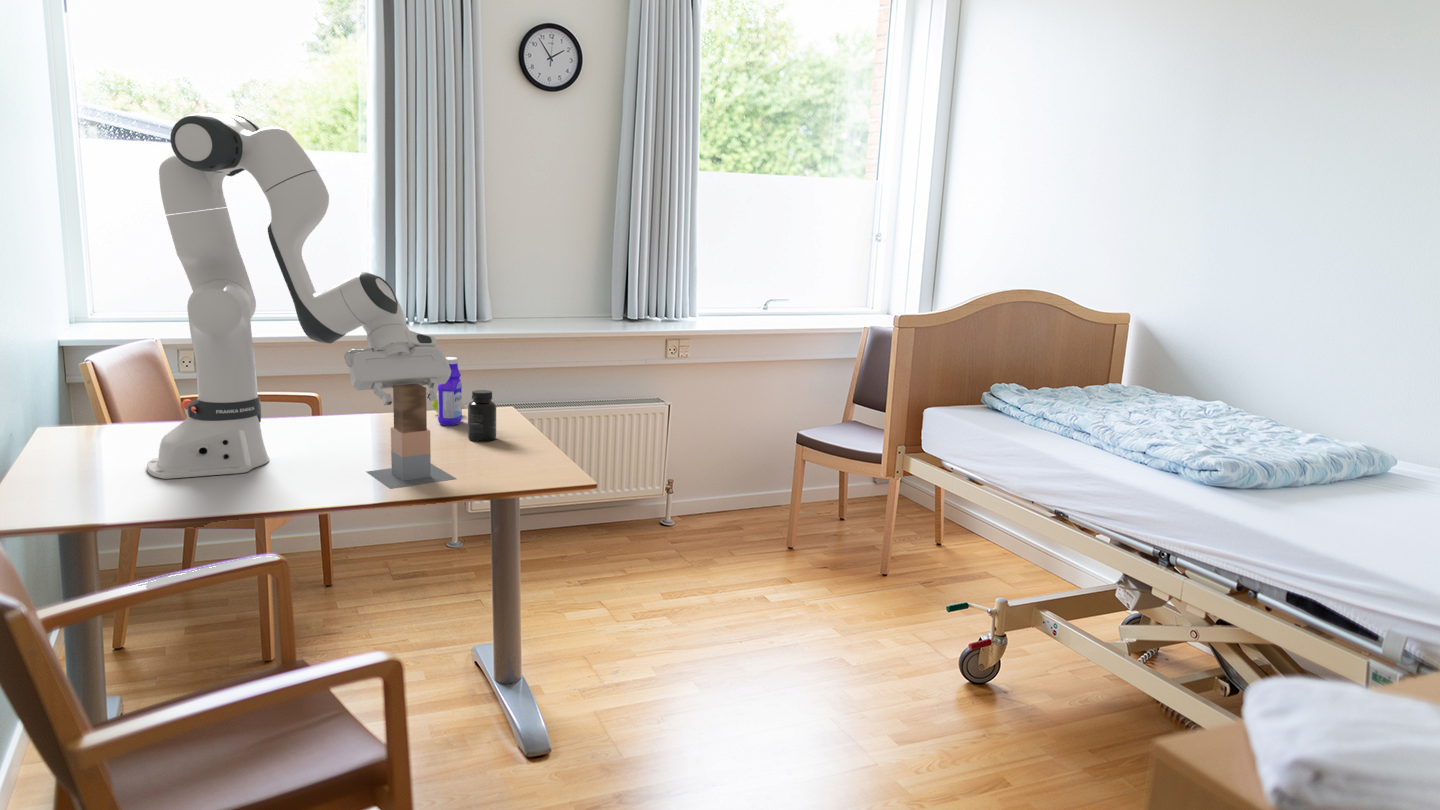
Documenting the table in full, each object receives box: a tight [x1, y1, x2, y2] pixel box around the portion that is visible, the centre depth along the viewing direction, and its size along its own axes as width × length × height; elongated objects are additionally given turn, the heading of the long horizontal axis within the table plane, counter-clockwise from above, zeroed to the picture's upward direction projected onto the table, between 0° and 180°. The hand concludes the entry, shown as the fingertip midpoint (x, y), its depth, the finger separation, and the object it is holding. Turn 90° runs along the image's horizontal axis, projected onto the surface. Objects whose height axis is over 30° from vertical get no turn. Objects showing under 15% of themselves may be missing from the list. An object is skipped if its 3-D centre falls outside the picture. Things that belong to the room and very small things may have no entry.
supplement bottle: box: [467, 389, 497, 443], centre depth 225 cm, size 7×7×12 cm
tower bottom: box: [390, 450, 432, 481], centre depth 192 cm, size 6×6×5 cm
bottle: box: [437, 356, 463, 426], centre depth 239 cm, size 7×6×17 cm
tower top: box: [390, 426, 431, 457], centre depth 191 cm, size 6×6×5 cm
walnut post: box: [392, 384, 428, 433], centre depth 189 cm, size 5×5×9 cm
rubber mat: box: [366, 463, 457, 490], centre depth 192 cm, size 14×14×1 cm
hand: (411, 401), depth 189 cm, fingers open, 8 cm apart
